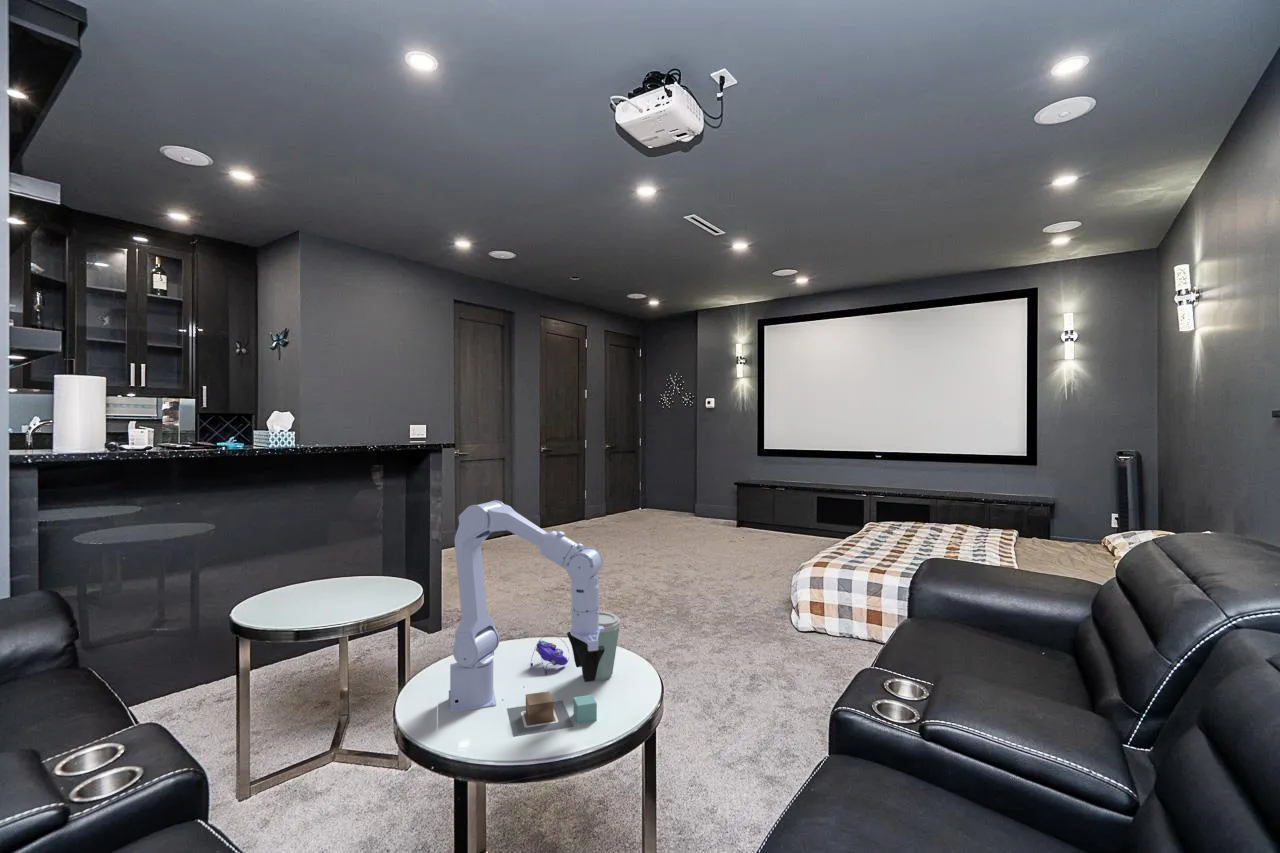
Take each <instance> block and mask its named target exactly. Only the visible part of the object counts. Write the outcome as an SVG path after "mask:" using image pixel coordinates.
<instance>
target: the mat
mask: <svg viewBox="0 0 1280 853" xmlns="http://www.w3.org/2000/svg"><path fill="white" fill-rule="evenodd" d="M553 701H554V721H551V722H544V723H538V724H532V725H529V723H528V720H527V716H526V705H521V706H516V707H514V706H513V707H509V708H508V707H507V708H506V710H507V715H508V720H509V725H510V728H511V732H512V737H519V736H525V735H533V734H539V733H544V732H551V731H556V730H562V729H568V728H569V729H570V728H574V724H573V721H572V719H571V717H570V715H569V712H568V710H567V707H566V705H565V704H564V701H563V699H562V700H557V701H555V700H553Z"/></svg>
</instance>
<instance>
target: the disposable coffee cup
mask: <svg viewBox="0 0 1280 853" xmlns="http://www.w3.org/2000/svg"><path fill="white" fill-rule="evenodd" d="M599 626H603V627H604V632H600V633H599V637H598V646H604V648H605V651H604V653H603V655H602V657H601V659H600V661H599V664H598V669H597V673H596V678H595V681H605V680H608V679H609V678H611V677H612V675H613V674H614V673H613V672H614V666H615V659H616V653H617V645H618V640H619V632H620V628H621V619H620V618H619V616H617V615H616V614H614V613H612V612H608V611H600V610H599ZM595 681H594V682H595Z"/></svg>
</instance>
